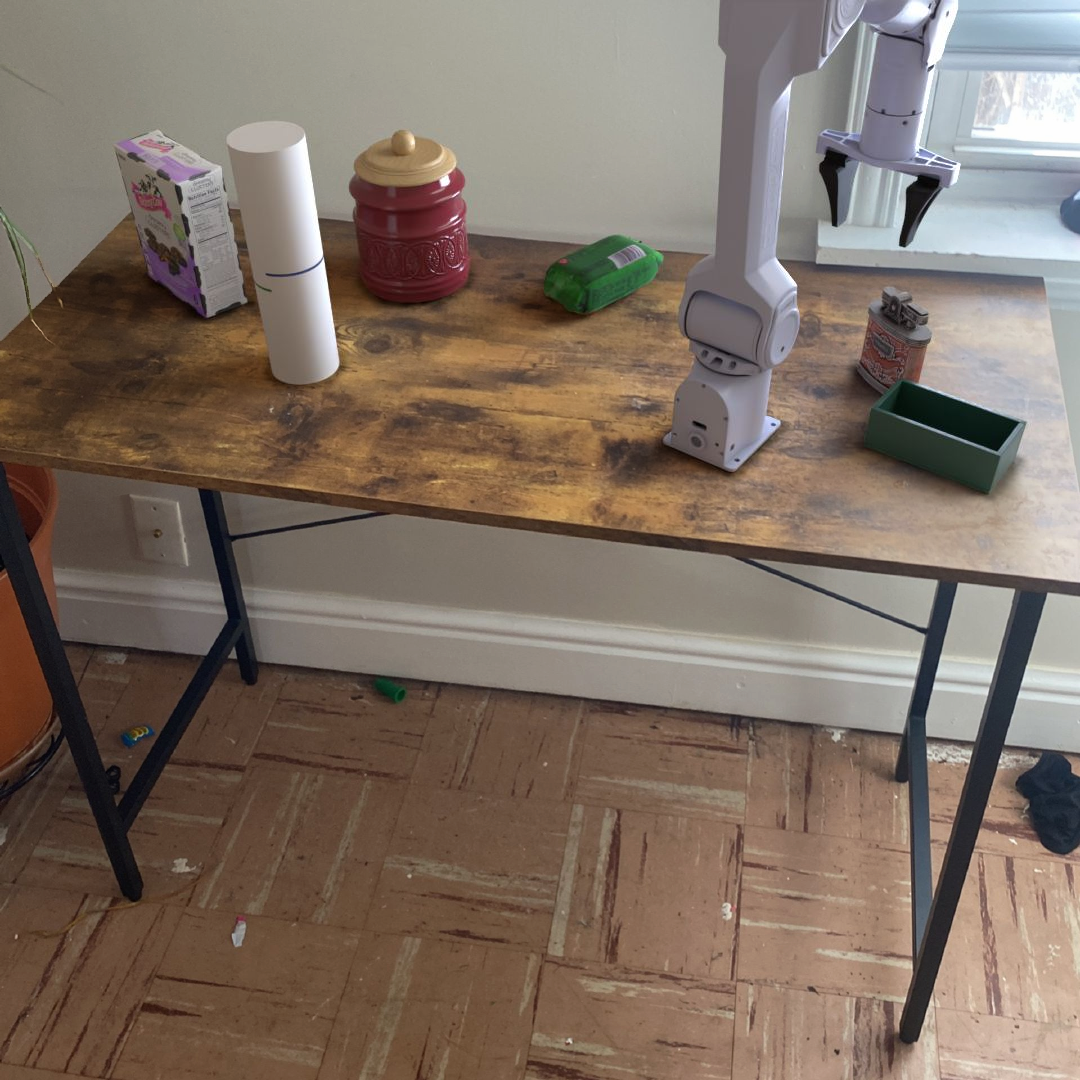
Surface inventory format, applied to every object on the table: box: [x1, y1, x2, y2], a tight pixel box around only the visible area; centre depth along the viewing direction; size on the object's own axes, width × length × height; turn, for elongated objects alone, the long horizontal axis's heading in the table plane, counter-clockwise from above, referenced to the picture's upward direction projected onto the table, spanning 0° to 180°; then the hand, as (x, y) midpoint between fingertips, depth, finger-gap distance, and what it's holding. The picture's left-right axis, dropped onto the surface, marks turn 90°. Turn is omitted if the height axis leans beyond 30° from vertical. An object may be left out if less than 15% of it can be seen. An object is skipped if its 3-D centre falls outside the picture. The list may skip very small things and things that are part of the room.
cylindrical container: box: [226, 120, 340, 386], centre depth 117 cm, size 7×7×25 cm
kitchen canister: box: [348, 129, 471, 304], centre depth 133 cm, size 13×13×18 cm
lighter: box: [856, 286, 933, 396], centre depth 118 cm, size 8×3×10 cm, turn 25°
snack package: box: [542, 234, 665, 316], centre depth 134 cm, size 7×16×5 cm, turn 131°
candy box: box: [113, 129, 248, 319], centre depth 132 cm, size 14×6×16 cm, turn 42°
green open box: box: [862, 377, 1028, 495], centre depth 111 cm, size 6×12×4 cm, turn 53°
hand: (871, 233), depth 124 cm, fingers open, 7 cm apart
